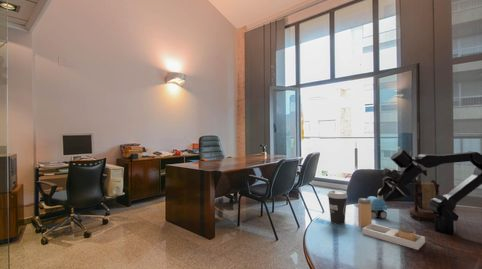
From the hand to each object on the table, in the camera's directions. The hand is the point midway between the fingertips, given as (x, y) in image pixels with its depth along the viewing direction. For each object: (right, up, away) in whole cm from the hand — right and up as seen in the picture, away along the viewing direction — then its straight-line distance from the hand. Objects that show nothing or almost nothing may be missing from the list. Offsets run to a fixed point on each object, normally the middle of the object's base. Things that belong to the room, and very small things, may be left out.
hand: (381, 197), depth 116 cm
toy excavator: (+7, -14, +16) cm, 22 cm away
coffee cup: (-17, -14, +8) cm, 24 cm away
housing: (-4, -14, -14) cm, 20 cm away
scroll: (+30, -14, +11) cm, 35 cm away
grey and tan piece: (0, -13, -18) cm, 22 cm away
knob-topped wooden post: (-7, -14, +1) cm, 16 cm away
